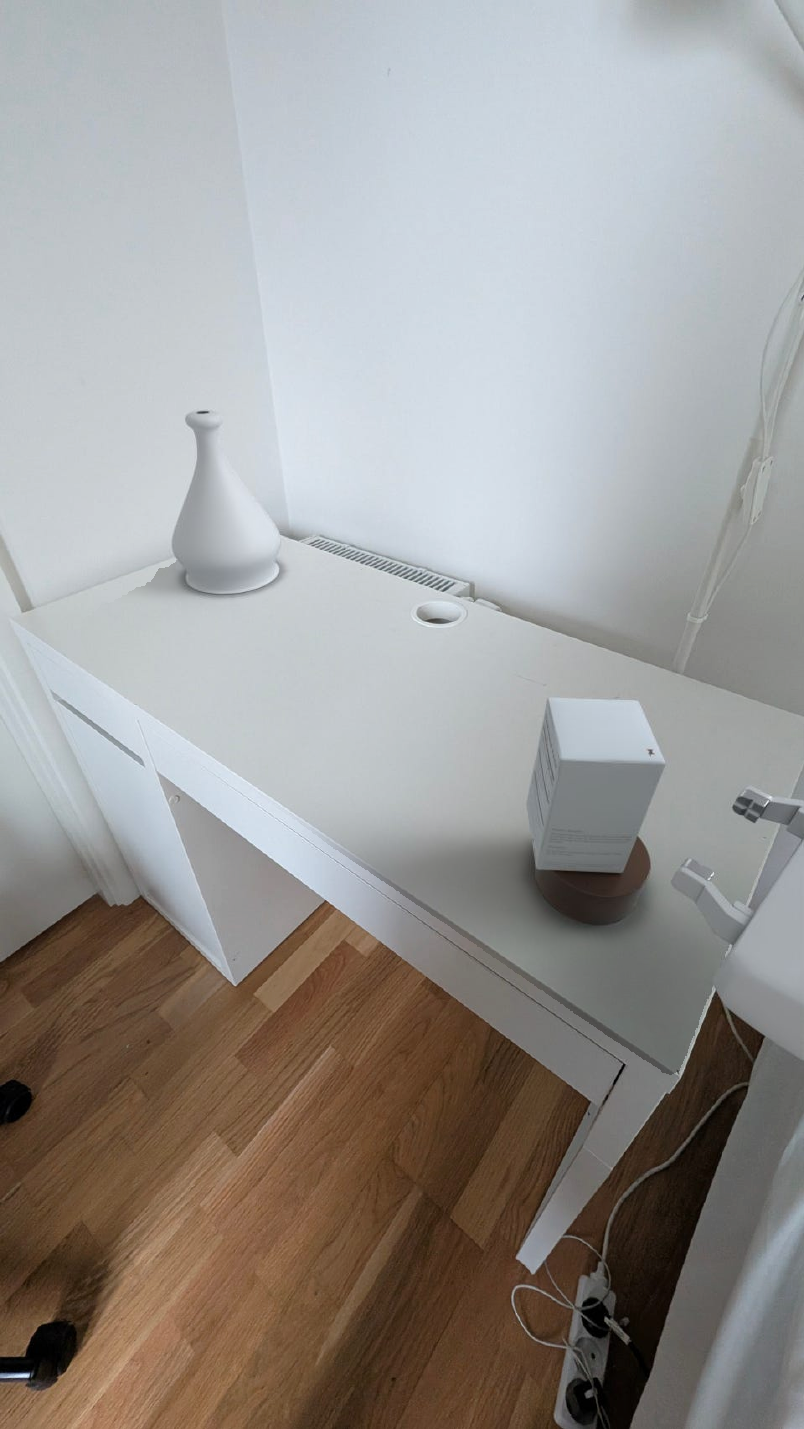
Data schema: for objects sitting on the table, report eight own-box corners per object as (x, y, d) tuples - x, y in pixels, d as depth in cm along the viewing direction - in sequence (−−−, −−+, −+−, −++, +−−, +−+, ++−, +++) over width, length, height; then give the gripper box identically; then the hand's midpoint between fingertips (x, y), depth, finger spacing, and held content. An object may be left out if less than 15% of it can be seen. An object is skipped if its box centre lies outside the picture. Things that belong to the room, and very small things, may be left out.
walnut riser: (641, 856, 54) (654, 828, 51) (633, 940, 47) (647, 912, 45) (545, 827, 56) (552, 799, 54) (524, 903, 50) (531, 875, 47)
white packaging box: (605, 808, 53) (642, 698, 45) (623, 876, 47) (670, 764, 39) (523, 803, 53) (546, 693, 45) (532, 870, 47) (560, 758, 40)
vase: (165, 568, 100) (122, 408, 85) (257, 544, 109) (234, 395, 93) (203, 607, 90) (162, 433, 74) (302, 578, 98) (285, 415, 82)
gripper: (1020, 836, 36) (785, 730, 44) (949, 1093, 25) (651, 890, 33) (958, 895, 40) (752, 788, 48) (872, 1139, 29) (623, 948, 37)
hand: (710, 831), depth 40 cm, fingers open, 8 cm apart
